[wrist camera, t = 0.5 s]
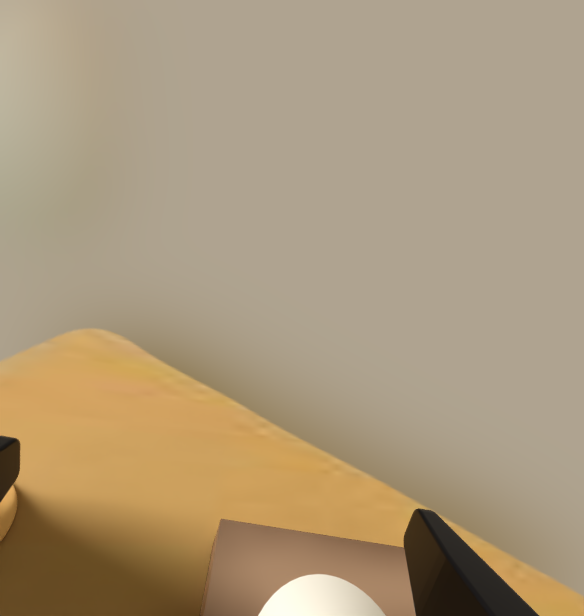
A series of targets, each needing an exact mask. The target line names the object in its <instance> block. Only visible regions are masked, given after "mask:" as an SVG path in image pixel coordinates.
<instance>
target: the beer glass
mask: <svg viewBox="0 0 584 616" xmlns="http://www.w3.org/2000/svg"><path fill="white" fill-rule="evenodd" d="M16 510H17V493H16V490H15V488H14V485H12V487H11V488H10V490H9V491H8V492H7V494H6V495H5V497H4V498H3V500H2V501H1V502H0V542H1V541H2V539H3V538H4V536H5V535H6V533H7V532H8V530H9V528H10V526H11V525H12V522H13V520H14V517H15V514H16Z"/></svg>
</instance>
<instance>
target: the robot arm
mask: <svg viewBox="0 0 584 616" xmlns="http://www.w3.org/2000/svg"><path fill="white" fill-rule="evenodd" d="M19 471H20V442H19V440H18V439H16V438H12V437H6V436H0V502H1V501H2V500H3V498H4V497H5V495H6V494H7V492H8V491H9V490H10V488H11V487H12V485H13V484H14V482H15V481H16V479H17V477H18V474H19ZM404 550H405V556H406V562H407V568H408V573H409V579H410V585H411V591H412V597H413V603H414V609H415V614H416V616H539V615H538V614H537V613H536V612H535V611H534V610H533V609H532V608H531V607H530V606H529V605H528V604H527V603H526V602H525V601H524V600H523V599H522V598H521V597H520V596H519V595H518V594H517V593H516V592H515V591H514V590H513V589H512V588H511V587H510V586H509V585H508V584H507V583H506V582H505V581H504V580H503V579H502V578H501V577H500V576H499V575H498V574H497V573H496V572H495V571H494V570H493V569H492V568H491V567H490V566H489V565H488V564H487V563H486V562H485V561H483V560H482V559H481V558H480V557H479V556H478V555H477V554H476V553H475V552H474V551H473V550H472V549H471V548H470V547H469V546H468V545H467V544H466V543H465V542H464V541H463V540H462V539H461V538H460V537H459V536H458V535H457V534H456V533H455V532H454V531H453V530H452V529H451V528H450V527H449V526H448V525H447V524H446V523H445V522H444V521H443V520H442V519H441V518H440V517H439V516H438V515H437V514H436V513H435V512H433V511H431V510H425V509H416V510H415V511H414V512H413V514H412V517H411V519H410V522H409V524H408V527H407V529H406V532H405V535H404Z"/></svg>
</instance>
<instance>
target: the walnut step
mask: <svg viewBox="0 0 584 616" xmlns="http://www.w3.org/2000/svg"><path fill="white" fill-rule="evenodd" d="M200 616H416V614H415V609H414V603H413V597H412V591H411V585H410V579H409V573H408V568H407V562H406V556H405V550H404V548H403V547H397V546H390V545H384V544H378V543H371V542H365V541H359V540H352V539H346V538H340V537H333V536H327V535H321V534H314V533H308V532H302V531H295V530H289V529H282V528H276V527H270V526H263V525H257V524H251V523H244V522H238V521H232V520H225V519H221V520H220V524H219V527H218V530H217V533H216V536H215V539H214V543H213V547H212V553H211V558H210V564H209V569H208V574H207V580H206V585H205V590H204V596H203V601H202V607H201V612H200Z"/></svg>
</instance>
